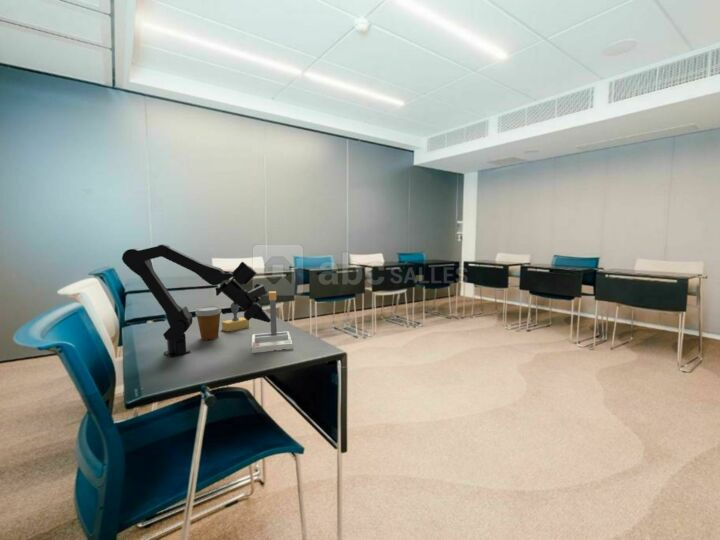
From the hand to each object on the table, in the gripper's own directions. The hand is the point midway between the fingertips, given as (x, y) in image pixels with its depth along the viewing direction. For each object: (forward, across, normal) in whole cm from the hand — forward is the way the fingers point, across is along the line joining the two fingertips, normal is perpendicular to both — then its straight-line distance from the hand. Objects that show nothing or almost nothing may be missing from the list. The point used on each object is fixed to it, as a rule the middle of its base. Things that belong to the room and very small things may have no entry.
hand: (269, 321), depth 125 cm
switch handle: (+5, 0, +4) cm, 7 cm away
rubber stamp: (-4, +27, +16) cm, 32 cm away
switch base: (+6, 0, +6) cm, 9 cm away
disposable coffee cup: (-10, +16, +23) cm, 29 cm away
